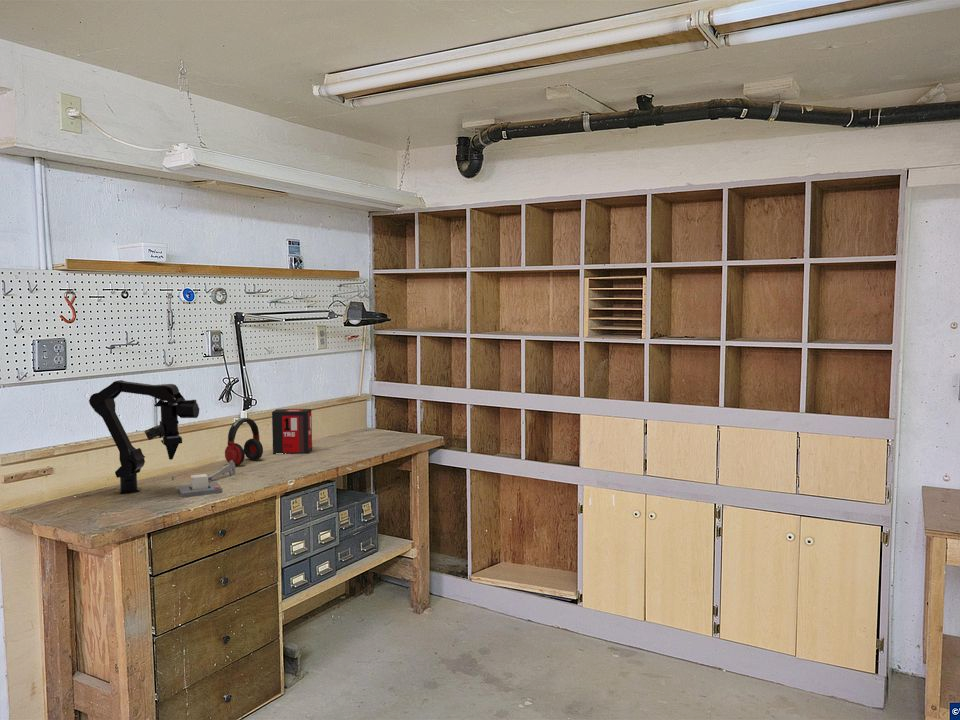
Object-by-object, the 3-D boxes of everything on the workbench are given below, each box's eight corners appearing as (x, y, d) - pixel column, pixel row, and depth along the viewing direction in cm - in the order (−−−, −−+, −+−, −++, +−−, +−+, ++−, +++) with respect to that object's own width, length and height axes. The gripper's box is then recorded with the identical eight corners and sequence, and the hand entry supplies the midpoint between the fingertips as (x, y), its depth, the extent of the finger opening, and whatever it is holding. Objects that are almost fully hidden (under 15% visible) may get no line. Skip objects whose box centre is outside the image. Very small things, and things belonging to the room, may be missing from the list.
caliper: (233, 474, 299) (233, 459, 299) (235, 474, 299) (235, 459, 298) (196, 485, 280) (195, 469, 280) (198, 486, 280) (198, 470, 280)
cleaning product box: (273, 454, 339) (271, 411, 338) (277, 450, 348) (276, 409, 347) (308, 453, 340) (307, 411, 338) (312, 450, 349) (311, 408, 347)
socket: (177, 490, 272) (177, 484, 272) (216, 485, 279) (216, 480, 279) (182, 497, 262) (181, 491, 262) (222, 492, 269) (222, 486, 269)
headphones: (239, 468, 310) (238, 421, 309) (221, 466, 314) (220, 420, 313) (266, 459, 326) (265, 416, 325) (248, 458, 330) (247, 414, 329)
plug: (191, 491, 271) (190, 475, 271) (210, 488, 275) (210, 473, 274) (192, 493, 267) (192, 478, 267) (212, 491, 271) (212, 475, 270)
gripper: (143, 416, 274) (144, 457, 275) (148, 423, 257) (149, 466, 259) (175, 414, 279) (176, 454, 280) (181, 420, 263) (183, 463, 264)
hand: (170, 459), depth 271 cm, fingers closed
